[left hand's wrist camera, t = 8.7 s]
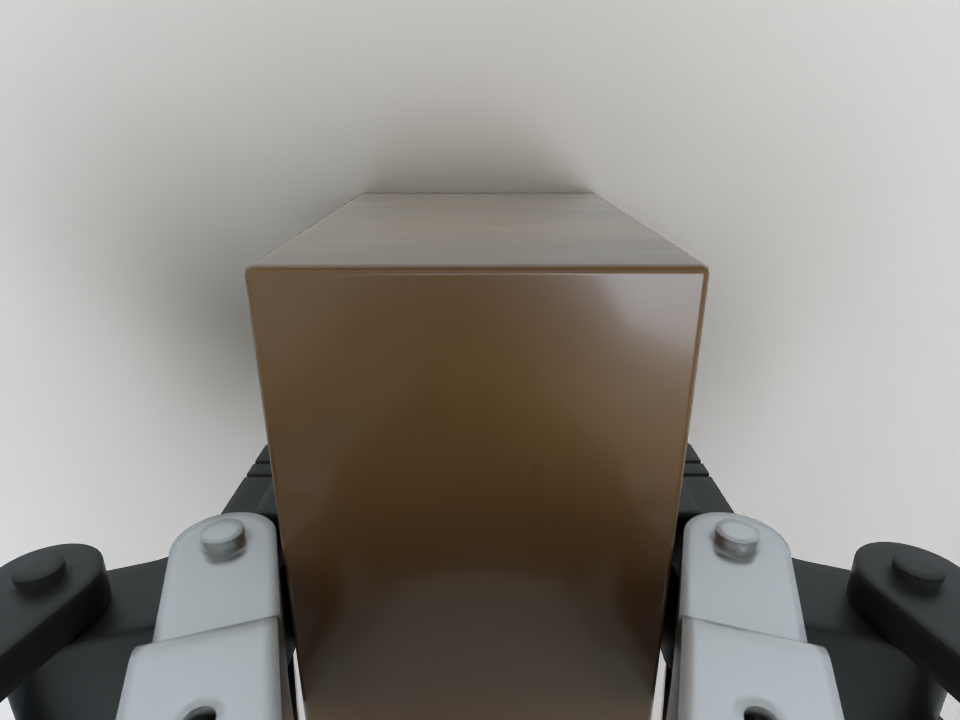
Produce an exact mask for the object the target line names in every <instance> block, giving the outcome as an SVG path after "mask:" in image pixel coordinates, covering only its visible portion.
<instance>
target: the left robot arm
mask: <svg viewBox="0 0 960 720" xmlns="http://www.w3.org/2000/svg"><path fill="white" fill-rule="evenodd" d="M295 647H296V645H295V638H294V631H293V623H292V616H291V609H290V601H289V594H288V587H287V579H286V572H285V565H284V557H283V550H282V543H281V536H280V528H279V521H278V514H277V506H276V499H275V492H274V484H273V477H272V470H271V462H270V455H269V448H268V444H267V445H266V446H265V447H264V449H263V450H262V452H261V453H260V455H259V457H258V458H257V460H256V463H255V464H253V466H252V467H251V469H250V470H249V472H248V473H247V478H244V480H243V481H242V483H241V484H240V486H239V487H238V489H237V490H236V492H235V493H234V495H233V496H232V498H231V499H230V501H229V503H228V504H227V506H226V507H225V509H224V510H223V512H222V513H221V515H217V516H214V517H210V518H208V519H205V520H203V521H200V522H198V523H196V524H195V525H193V526H191V527H190V528H188V529H186V530H185V531H184V532H183V533H182V534H180V535H179V536H178V538H177V539H176V540H175V541H174V543H173V544H172V546H171V549H170V553H169V557H166V558H163V559H160V560H156V561H152V562H148V563H143V564H138V565H133V566H129V567H124V568H119V569H114V570H109V571H106V568H105V564H104V560H103V557H102V554H101V553H100V552H99V550H98V549H96V548H94V547H92V546H89V545H84V544H61V545H55V546H50V547H46V548H42V549H39V550H36V551H33V552H30V553H28V554H25V555H23V556H21V557H18V558H16V559H14V560H12V561H10V562H9V563H7V564H5V565H4V566H2V567H0V702H2V701H3V700H4V699H5V698H6V697H8V700H9V703H10V705H11V708H12V711H13V714H14V717H15V719H16V720H299V707H298V694H297V682H296V673H295V665H294V658H293V653H294V650H295ZM660 648H661V651H662V654H663V657H664V660H665V662H666V665H665V673H664V681H663V694H662V707H661V720H943V719H942V718H941V717H940V716H939V715H940V712H941V709H942V706H943V703H944V701H945V698H946V695H947V692H948V693H949V694H950V695H952V696H953V697H954V698H955V699H956V700H957V701H958V702H960V567H958V566H957V565H955V564H953V563H952V562H950V561H948V560H947V559H945V558H943V557H941V556H939V555H936V554H934V553H932V552H929V551H927V550H924V549H921V548H918V547H914V546H910V545H906V544H901V543H893V542H876V543H870V544H867V545H864V546H862V547H861V548H859V549H858V551H857V552H856V554H855V557H854V561H853V565H852V569H851V570H846V569H841V568H836V567H831V566H826V565H821V564H816V563H811V562H807V561H803V560H798V559H795V558H792V557H791V553H790V549H789V546H788V544H787V543H786V541H785V540H784V539H783V538H782V536H781V535H780V534H778V533H777V532H776V531H775V530H773V529H772V528H770V527H769V526H767V525H765V524H764V523H762V522H760V521H757V520H755V519H752V518H749V517H746V516H743V515H739V514H735V513H734V512H733V510H732V509H731V507H730V506H729V504H728V502H727V501H726V499H725V498H724V496H723V495H722V493H721V492H720V490H719V488H718V487H717V485H716V484H715V482H714V481H713V479H712V478H711V477H709V473H708V471H707V470H706V468H705V467H704V465H703V464H701V460H700V459H699V457H698V456H697V454H696V453H695V451H694V450H693V448H692V446H691V445H690V444H688V443H687V448H686V456H685V464H684V471H683V479H682V487H681V494H680V502H679V510H678V517H677V525H676V532H675V540H674V548H673V555H672V563H671V571H670V578H669V586H668V594H667V601H666V609H665V617H664V624H663V632H662V640H661V647H660Z"/></svg>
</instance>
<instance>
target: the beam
mask: <svg viewBox="0 0 960 720" xmlns="http://www.w3.org/2000/svg"><path fill="white" fill-rule="evenodd" d="M245 280H246V287H247V294H248V302H249V309H250V316H251V324H252V331H253V338H254V345H255V353H256V360H257V367H258V375H259V382H260V389H261V397H262V404H263V411H264V419H265V426H266V433H267V441H268V448H269V455H270V462H271V470H272V477H273V484H274V492H275V499H276V506H277V514H278V521H279V528H280V536H281V543H282V550H283V557H284V565H285V572H286V579H287V587H288V594H289V601H290V609H291V616H292V623H293V631H294V638H295V645H296V652H297V660H298V667H299V674H300V682H301V689H302V696H303V704H304V711H305V718H306V720H651V716H652V709H653V701H654V693H655V686H656V678H657V670H658V663H659V655H660V647H661V640H662V632H663V624H664V617H665V609H666V601H667V594H668V586H669V578H670V571H671V563H672V555H673V548H674V540H675V532H676V525H677V517H678V510H679V502H680V494H681V487H682V479H683V471H684V464H685V456H686V448H687V441H688V433H689V425H690V418H691V410H692V402H693V395H694V387H695V379H696V372H697V364H698V356H699V349H700V341H701V333H702V326H703V318H704V310H705V303H706V295H707V288H708V280H709V270H708V267H707V266H706V265H704V264H703V263H701V262H700V261H698V260H697V259H695V258H694V257H692V256H691V255H689V254H687V253H686V252H684V251H683V250H681V249H680V248H678V247H677V246H675V245H674V244H672V243H671V242H669V241H668V240H666V239H664V238H663V237H661V236H660V235H658V234H657V233H655V232H654V231H652V230H651V229H649V228H648V227H646V226H645V225H643V224H641V223H640V222H638V221H637V220H635V219H634V218H632V217H631V216H629V215H628V214H626V213H625V212H623V211H622V210H620V209H618V208H617V207H615V206H614V205H612V204H611V203H609V202H608V201H606V200H605V199H603V198H602V197H600V196H599V195H597V194H595V193H363V194H361V195H359V196H357V197H356V198H354V199H352V200H351V201H349V202H348V203H346V204H345V205H343V206H341V207H340V208H338V209H337V210H335V211H334V212H332V213H330V214H329V215H327V216H326V217H324V218H323V219H321V220H320V221H318V222H316V223H315V224H313V225H312V226H310V227H309V228H307V229H305V230H304V231H302V232H301V233H299V234H298V235H296V236H295V237H293V238H291V239H290V240H288V241H287V242H285V243H284V244H282V245H280V246H279V247H277V248H276V249H274V250H273V251H271V252H270V253H268V254H266V255H265V256H263V257H262V258H260V259H259V260H257V261H255V262H254V263H252V264H251V265H249V266H248V267H246V271H245Z"/></svg>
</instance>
